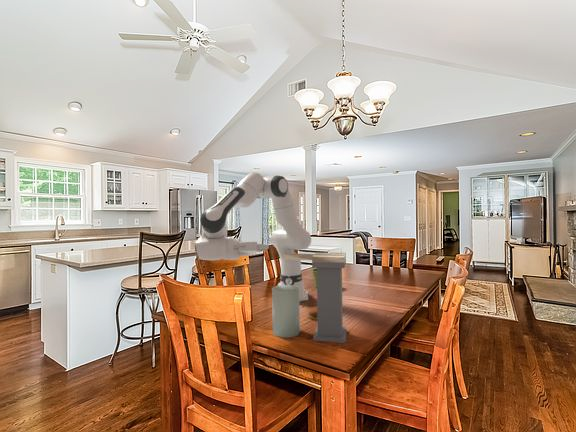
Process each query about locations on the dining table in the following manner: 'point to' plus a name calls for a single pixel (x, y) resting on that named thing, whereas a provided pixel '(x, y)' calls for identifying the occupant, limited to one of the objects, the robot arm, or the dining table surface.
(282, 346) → the dining table surface
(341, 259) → the cutting board
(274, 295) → the crock
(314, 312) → the burger
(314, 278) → the plant pot
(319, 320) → the plinth
